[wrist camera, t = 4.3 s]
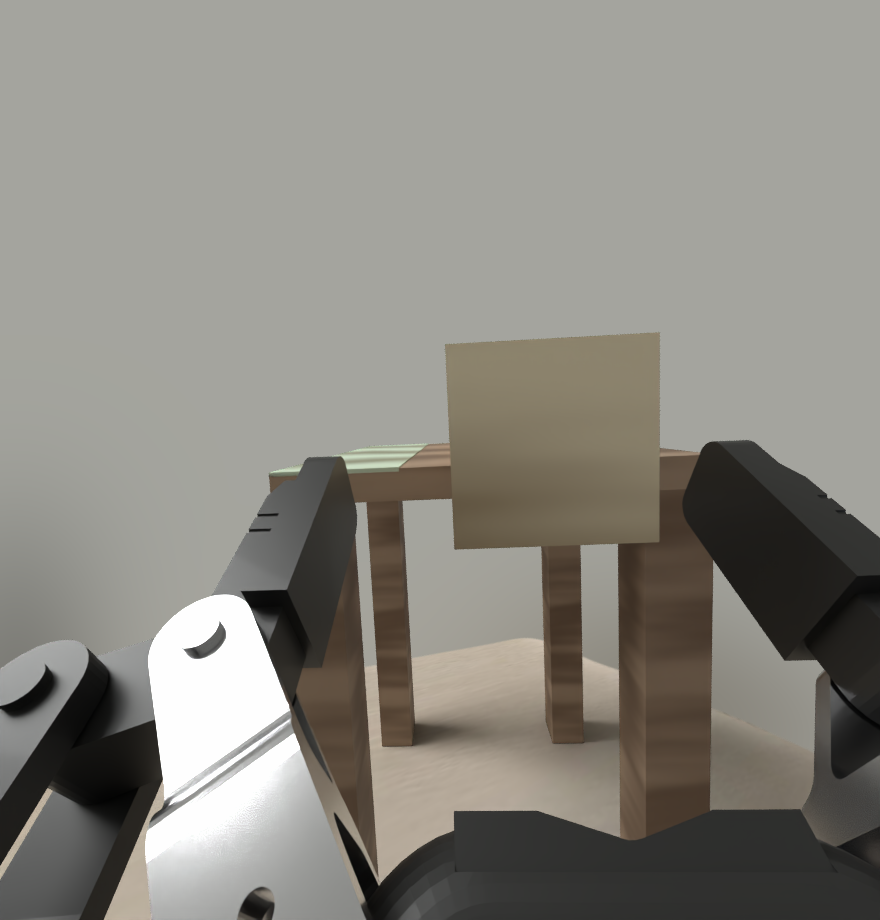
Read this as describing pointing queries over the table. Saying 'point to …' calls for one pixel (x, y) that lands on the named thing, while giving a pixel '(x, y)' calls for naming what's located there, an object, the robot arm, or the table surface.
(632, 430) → the maple rod
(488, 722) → the table surface
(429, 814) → the table surface
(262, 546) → the robot arm
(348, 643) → the walnut stand
